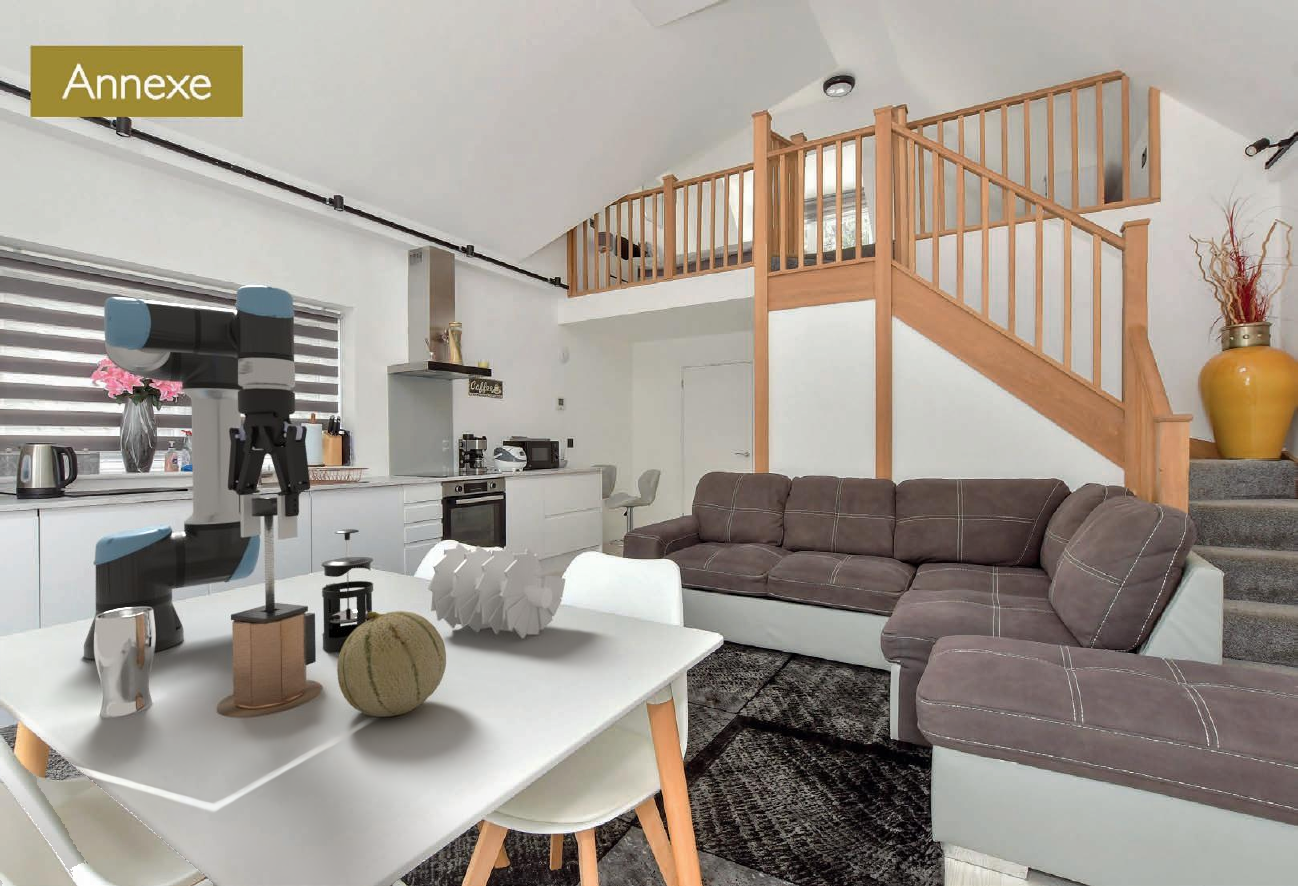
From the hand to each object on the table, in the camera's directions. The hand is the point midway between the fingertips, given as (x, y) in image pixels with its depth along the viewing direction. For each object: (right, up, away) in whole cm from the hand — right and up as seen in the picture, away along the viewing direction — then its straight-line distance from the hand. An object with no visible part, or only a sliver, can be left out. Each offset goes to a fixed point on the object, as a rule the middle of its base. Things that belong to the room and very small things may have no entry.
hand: (269, 536), depth 94 cm
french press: (0, -26, +25) cm, 36 cm away
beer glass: (-19, -26, -4) cm, 32 cm away
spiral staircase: (+27, -25, +34) cm, 50 cm away
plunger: (0, -15, 0) cm, 15 cm away
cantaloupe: (+21, -25, -4) cm, 33 cm away
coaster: (0, -25, 0) cm, 25 cm away
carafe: (+1, -25, +1) cm, 25 cm away
